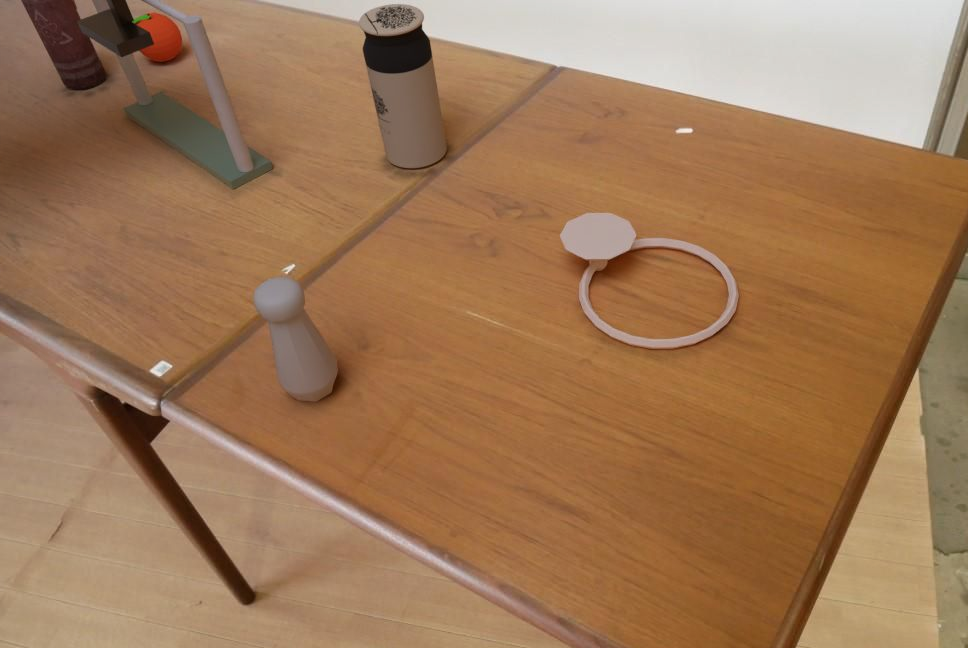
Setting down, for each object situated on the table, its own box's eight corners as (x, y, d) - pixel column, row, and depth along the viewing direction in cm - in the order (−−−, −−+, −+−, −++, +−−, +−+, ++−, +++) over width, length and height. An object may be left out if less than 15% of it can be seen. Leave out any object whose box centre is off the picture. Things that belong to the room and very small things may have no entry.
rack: (233, 189, 106) (171, 31, 91) (126, 116, 120) (57, -33, 105) (273, 168, 109) (219, 11, 94) (164, 99, 123) (102, -49, 108)
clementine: (141, 76, 128) (121, 30, 122) (132, 58, 132) (112, 13, 126) (193, 61, 130) (176, 16, 125) (183, 44, 134) (166, -1, 129)
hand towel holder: (683, 345, 79) (517, 262, 88) (680, 377, 82) (520, 293, 91) (773, 251, 87) (613, 184, 96) (767, 283, 90) (613, 215, 100)
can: (113, 81, 127) (70, -13, 116) (69, 95, 124) (21, 0, 114) (103, 66, 130) (60, -27, 120) (60, 79, 128) (13, -15, 118)
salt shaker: (315, 357, 86) (278, 257, 76) (355, 380, 83) (322, 280, 74) (271, 393, 82) (227, 294, 73) (312, 418, 80) (271, 319, 70)
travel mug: (441, 132, 114) (419, -2, 100) (452, 163, 108) (430, 26, 95) (382, 143, 112) (353, 8, 99) (390, 175, 107) (360, 38, 94)
